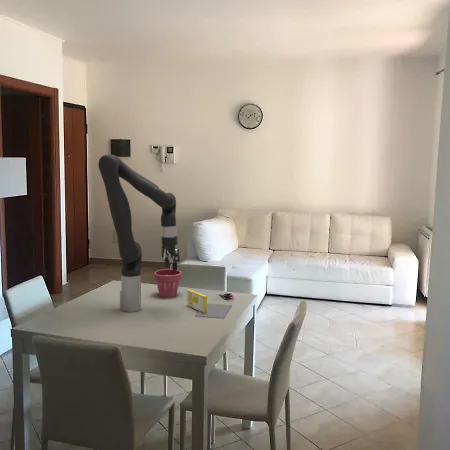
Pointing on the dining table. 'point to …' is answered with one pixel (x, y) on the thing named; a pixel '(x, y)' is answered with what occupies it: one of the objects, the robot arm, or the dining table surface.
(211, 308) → the mat
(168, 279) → the plant pot
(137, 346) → the dining table surface
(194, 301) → the candy box
